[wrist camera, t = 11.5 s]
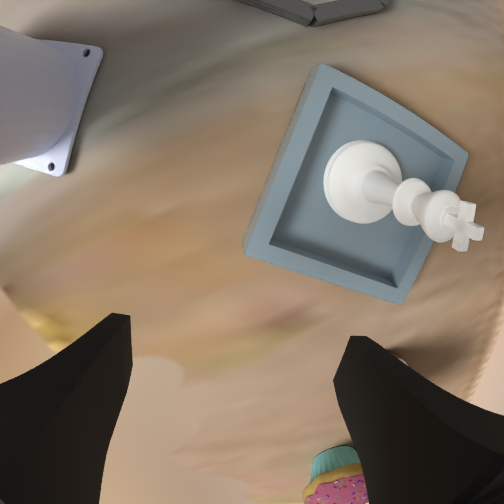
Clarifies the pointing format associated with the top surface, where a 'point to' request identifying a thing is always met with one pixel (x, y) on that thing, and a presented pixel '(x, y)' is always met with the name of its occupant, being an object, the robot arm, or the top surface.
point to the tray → (314, 200)
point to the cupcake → (336, 478)
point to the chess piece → (394, 195)
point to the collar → (318, 9)
